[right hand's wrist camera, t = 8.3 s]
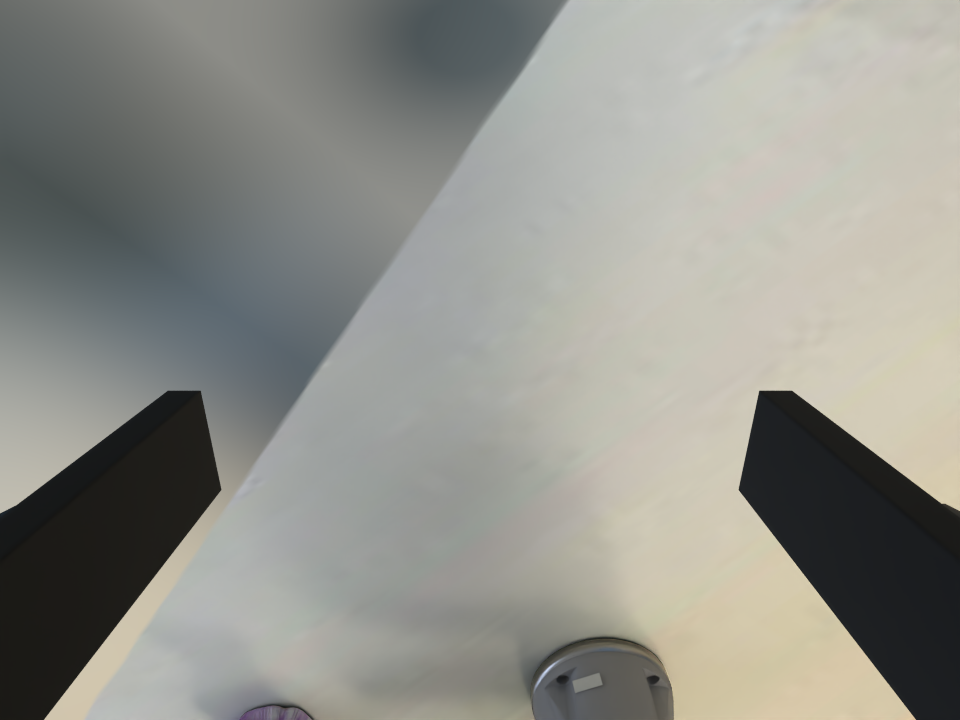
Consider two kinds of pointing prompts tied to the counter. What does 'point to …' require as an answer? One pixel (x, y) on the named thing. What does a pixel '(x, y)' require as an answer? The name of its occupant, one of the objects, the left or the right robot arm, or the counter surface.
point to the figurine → (275, 714)
